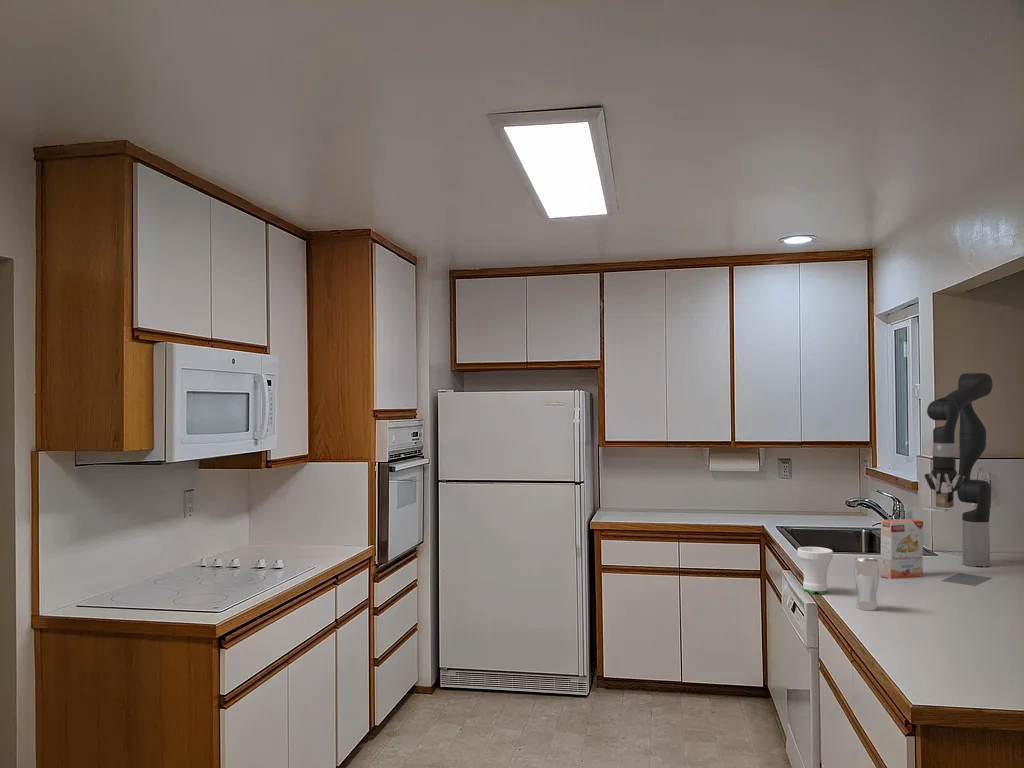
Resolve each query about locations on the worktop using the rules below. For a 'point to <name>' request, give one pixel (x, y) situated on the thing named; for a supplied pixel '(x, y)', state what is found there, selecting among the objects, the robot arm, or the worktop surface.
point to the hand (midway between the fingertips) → (944, 501)
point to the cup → (815, 568)
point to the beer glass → (866, 583)
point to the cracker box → (901, 548)
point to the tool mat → (967, 579)
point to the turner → (941, 503)
